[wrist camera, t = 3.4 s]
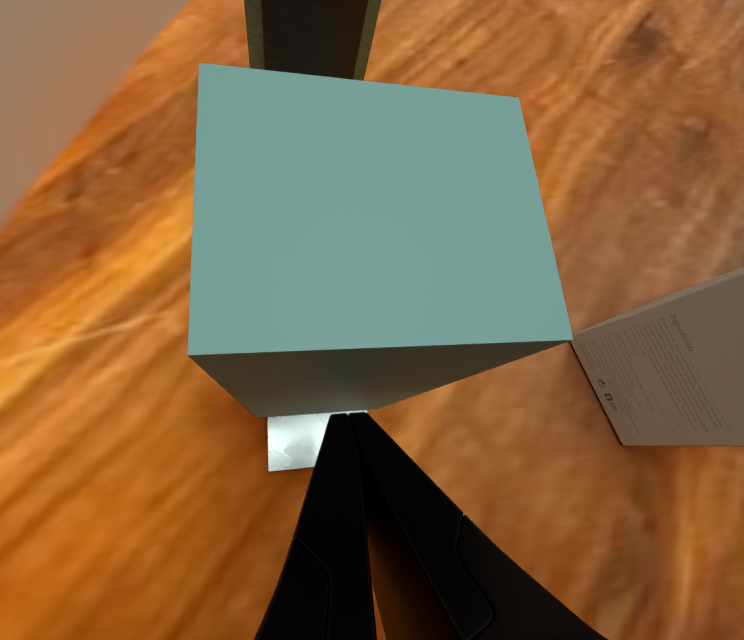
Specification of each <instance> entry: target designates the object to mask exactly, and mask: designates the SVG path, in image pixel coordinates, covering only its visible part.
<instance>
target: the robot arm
mask: <svg viewBox="0 0 744 640" xmlns="http://www.w3.org/2000/svg"><path fill="white" fill-rule="evenodd" d="M371 580H372V581H371ZM372 584H373V588H374V592H375V596H376V600H377V604H378V608H379V612H380V616H381V620H382V624H383V628H384V632H385V636H386V640H608V639H607V638H605V637H603V636H602V635H601V634H599V633H598V632H596V631H595V630H594V629H592V628H591V627H590V626H588V625H587V624H586V623H585V622H583V621H582V620H581V619H580V618H579V617H577V616H576V615H575V614H574V613H573V612H572V611H570V610H569V609H568V608H567V607H566V606H565V605H564V604H562V603H561V602H560V601H559V600H558V599H557V598H555V597H554V596H553V595H552V594H551V593H550V592H548V591H547V590H546V589H545V588H544V587H543V586H541V585H540V584H539V583H538V582H537V581H536V580H534V579H533V578H532V577H531V576H530V575H529V574H527V573H526V572H525V571H524V570H523V569H522V568H520V567H519V566H518V565H517V564H516V563H515V562H514V561H513V560H512V559H510V558H509V557H508V556H507V555H506V554H505V553H504V552H503V551H502V550H500V549H499V548H498V547H497V546H496V545H495V544H494V543H493V542H492V541H491V540H490V539H489V538H488V537H487V536H486V535H485V534H484V533H483V532H482V531H481V530H480V529H479V528H478V527H477V526H476V525H475V524H474V523H473V522H472V521H471V520H470V519H469V518H468V517H467V516H466V515H464V516H463V512H462V511H461V510H460V509H459V508H458V507H457V506H456V504H455V503H454V502H453V501H452V500H451V499H450V498H449V497H448V496H447V495H446V494H445V493H444V492H443V491H442V490H441V489H440V488H439V487H438V486H437V485H436V484H435V483H434V482H433V481H432V480H431V479H430V478H429V477H428V476H427V474H426V473H425V472H424V471H423V470H422V469H421V468H420V467H419V466H418V465H417V464H416V463H415V462H414V461H413V460H412V459H411V458H410V457H409V456H408V455H407V454H406V453H405V452H404V451H403V450H402V449H401V448H400V447H399V446H398V444H397V443H396V442H395V441H394V440H393V439H392V438H391V437H390V436H389V435H388V434H387V433H386V432H385V431H384V430H383V429H382V428H381V427H380V426H379V425H378V424H377V423H376V422H375V421H374V420H373V419H372V418H371V417H370V415H369V414H368V413H366V412H354V413H350V414H349V415H348V414H346V413H340V414H331V415H330V417H329V420H328V423H327V426H326V430H325V433H324V436H323V439H322V443H321V446H320V449H319V453H318V456H317V459H316V463H315V466H314V469H313V472H312V476H311V479H310V482H309V485H308V489H307V492H306V495H305V499H304V502H303V505H302V508H301V512H300V515H299V518H298V522H297V525H296V528H295V531H294V535H293V540H292V541H291V544H290V547H289V550H288V554H287V557H286V560H285V563H284V566H283V569H282V572H281V574H280V577H279V580H278V583H277V586H276V588H275V591H274V593H273V596H272V598H271V601H270V603H269V605H268V608H267V610H266V613H265V615H264V618H263V620H262V622H261V624H260V627H259V629H258V631H257V633H256V635H255V638H254V640H377V636H376V625H375V614H374V603H373V592H372Z"/></svg>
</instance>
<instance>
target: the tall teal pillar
mask: <svg viewBox="0 0 744 640" xmlns="http://www.w3.org/2000/svg"><path fill="white" fill-rule="evenodd" d="M571 340H573V336H572V332H571V327H570V323H569V318H568V314H567V309H566V305H565V301H564V296H563V292H562V287H561V283H560V279H559V274H558V270H557V265H556V261H555V256H554V252H553V248H552V243H551V239H550V234H549V230H548V225H547V221H546V217H545V212H544V208H543V203H542V199H541V194H540V190H539V186H538V181H537V177H536V172H535V168H534V164H533V159H532V155H531V150H530V146H529V141H528V137H527V133H526V128H525V124H524V119H523V115H522V110H521V106H520V102H519V98H516V97H507V96H498V95H489V94H479V93H470V92H461V91H452V90H443V89H434V88H425V87H416V86H406V85H397V84H388V83H379V82H370V81H361V80H352V79H342V78H333V77H324V76H315V75H306V74H297V73H288V72H279V71H269V70H260V69H251V68H242V67H233V66H224V65H215V64H206V63H199V79H198V105H197V130H196V156H195V181H194V207H193V233H192V258H191V284H190V309H189V335H188V356H189V357H190V358H191V359H192V360H193V361H195V362H196V363H197V364H198V365H199V366H200V367H201V368H202V369H203V370H204V371H206V372H207V373H208V374H209V375H210V376H211V377H212V378H213V379H214V380H215V381H216V382H218V383H219V384H220V385H221V386H222V387H223V388H224V389H225V390H226V391H227V392H228V393H230V394H231V395H232V396H233V397H234V398H235V399H236V400H237V401H238V402H239V403H240V404H242V405H243V406H244V407H245V408H246V409H247V410H248V411H249V412H250V413H251V414H252V415H254V416H255V417H256V418H263V417H276V416H290V415H303V414H317V413H330V412H344V411H357V410H370V409H379V408H382V407H384V406H387V405H390V404H393V403H396V402H399V401H401V400H404V399H407V398H410V397H413V396H416V395H418V394H421V393H424V392H427V391H430V390H433V389H435V388H438V387H441V386H444V385H447V384H450V383H452V382H455V381H458V380H461V379H464V378H467V377H469V376H472V375H475V374H478V373H481V372H484V371H486V370H489V369H492V368H495V367H498V366H501V365H503V364H506V363H509V362H512V361H515V360H518V359H520V358H523V357H526V356H529V355H532V354H535V353H537V352H540V351H543V350H546V349H549V348H552V347H554V346H557V345H560V344H563V343H566V342H569V341H571Z"/></svg>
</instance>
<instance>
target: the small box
mask: <svg viewBox="0 0 744 640" xmlns="http://www.w3.org/2000/svg"><path fill="white" fill-rule="evenodd" d="M572 336H573V340H571V341H570V342H571V344H572V346H573V348H574V350H575V352H576V354H577V356H578V358H579V360H580V362H581V364H582V366H583V368H584V370H585V372H586V374H587V376H588V378H589V380H590V382H591V384H592V386H593V388H594V390H595V392H596V394H597V396H598V398H599V400H600V402H601V404H602V406H603V408H604V410H605V412H606V414H607V416H608V417H609V419H610V421H611V423H612V425H613V427H614V429H615V431H616V433H617V435H618V437H619V439H620V441H621V442H622V444H623V445H625V446H744V267H742V268H740V269H737V270H734V271H732V272H729V273H726V274H724V275H721V276H718V277H716V278H713V279H710V280H708V281H705V282H702V283H699V284H697V285H694V286H691V287H689V288H686V289H683V290H680V291H678V292H675V293H672V294H670V295H667V296H664V297H662V298H659V299H656V300H654V301H651V302H649V303H646V304H644V305H641V306H639V307H637V308H634V309H632V310H629V311H627V312H624V313H622V314H620V315H617V316H615V317H612V318H610V319H607V320H605V321H603V322H600V323H598V324H596V325H593V326H591V327H589V328H586V329H584V330H582V331H579V332H577V333H575V334H573V335H572Z"/></svg>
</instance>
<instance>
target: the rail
mask: <svg viewBox="0 0 744 640" xmlns="http://www.w3.org/2000/svg"><path fill="white" fill-rule="evenodd" d="M380 4H381V0H244V5H245V17H246V28H247V40H248V51H249V62H250V68H251V69H260V70H269V71H279V72H288V73H297V74H306V75H315V76H324V77H333V78H342V79H352V80H361V81H364V76H365V72H366V67H367V63H368V58H369V54H370V49H371V45H372V40H373V36H374V31H375V27H376V22H377V18H378V13H379V9H380ZM354 412H366V413H367V410H357V411H344V412H330V413H317V414H303V415H290V416H276V417H268V471H278V470H288V469H298V468H307V467H314V466H315V463H316V459H317V456H318V453H319V449H320V446H321V443H322V439H323V436H324V433H325V430H326V426H327V423H328V420H329V417H330V415H331V414H340V413H346V414H348V415H349V414H350V413H354Z"/></svg>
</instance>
